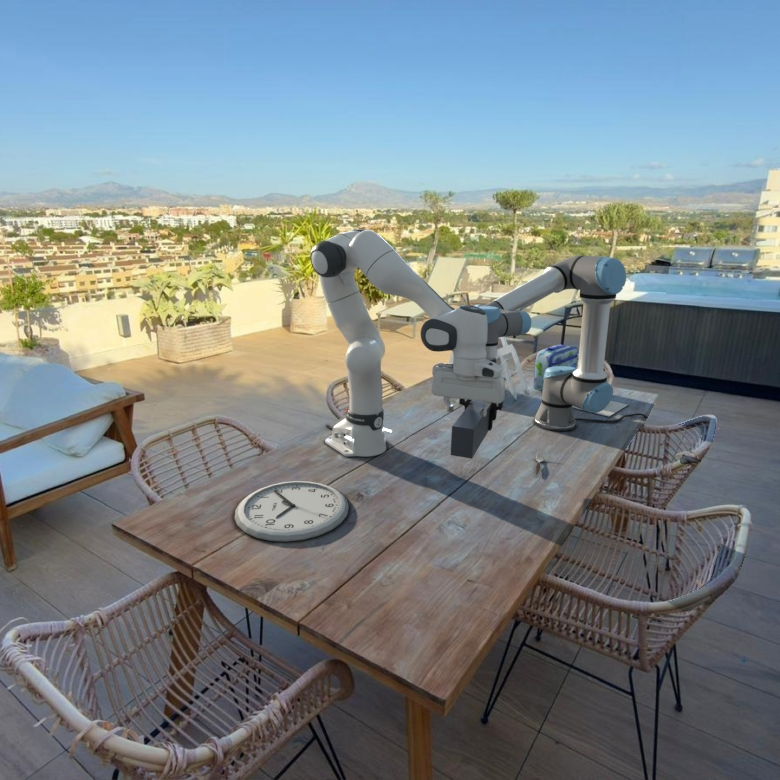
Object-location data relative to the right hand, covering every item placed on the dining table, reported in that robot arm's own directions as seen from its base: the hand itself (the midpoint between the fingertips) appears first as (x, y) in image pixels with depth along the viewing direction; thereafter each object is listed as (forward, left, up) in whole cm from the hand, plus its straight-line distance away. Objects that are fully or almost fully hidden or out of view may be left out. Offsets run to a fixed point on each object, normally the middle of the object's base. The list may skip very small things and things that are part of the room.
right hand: (479, 427), depth 168 cm
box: (+3, +10, -1) cm, 10 cm away
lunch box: (-40, -87, -12) cm, 97 cm away
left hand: (+5, +19, +11) cm, 23 cm away
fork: (-20, +1, -12) cm, 23 cm away
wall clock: (+50, +39, -12) cm, 65 cm away
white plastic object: (-4, -76, -12) cm, 77 cm away
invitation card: (-56, -64, -12) cm, 86 cm away
